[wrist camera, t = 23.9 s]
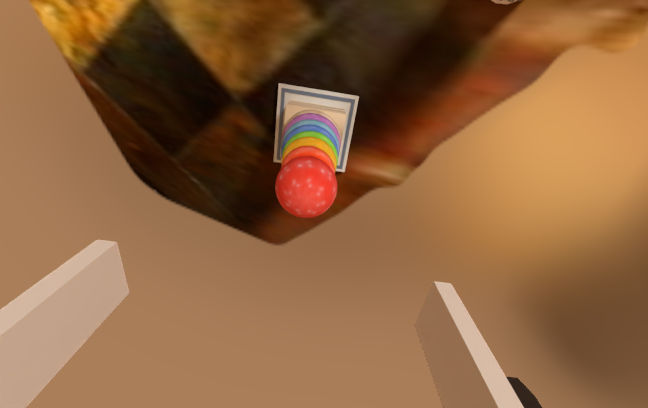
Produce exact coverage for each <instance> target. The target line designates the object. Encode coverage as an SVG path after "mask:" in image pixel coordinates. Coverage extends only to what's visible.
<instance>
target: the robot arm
mask: <svg viewBox="0 0 648 408" xmlns="http://www.w3.org/2000/svg"><path fill="white" fill-rule="evenodd" d="M128 293H129V289H128V285H127V281H126V277H125V273H124V269H123V265H122V260H121V256H120V252H119V248H118V244H117V242H113V241H105V240H96V241H94V242H93V243H91V244H90V245H89V246H87V247H86V248H85V249H83V250H82V251H80V252H79V253H78V254H76V255H75V256H74V257H72V258H71V259H69V260H68V261H67V262H65V263H64V264H62V265H61V266H60V267H58V268H57V269H56V270H54V271H53V272H51V273H50V274H49V275H47V276H46V277H45V278H43V279H42V280H40V281H39V282H38V283H37V284H35V285H33V286H32V287H31V288H29V289H28V290H27V291H25V292H24V293H22V294H21V295H20V296H18V297H17V298H16V299H14V300H13V301H11V302H10V303H9V304H7V305H6V306H4V307H3V308H2V309H0V408H26V407H27V406H28V405H29V404H30V402H31V401H32V400H33V399H34V398H35V397H36V396H37V395H38V394H39V392H40V391H41V390H42V389H43V388H44V387H45V386H46V385H47V384H48V382H49V381H50V380H51V379H52V378H53V377H54V376H55V375H56V374H57V372H58V371H59V370H60V369H61V368H62V367H63V366H64V365H65V364H66V362H67V361H68V360H69V359H70V358H71V357H72V356H73V355H74V354H75V352H76V351H77V350H78V349H79V348H80V347H81V346H82V345H83V344H84V342H85V341H86V340H87V339H88V338H89V337H90V336H91V335H92V334H93V332H94V331H95V330H96V329H97V328H98V327H99V326H100V325H101V324H102V322H103V321H104V320H105V319H106V318H107V317H108V316H109V315H110V314H111V312H112V311H113V310H114V309H115V308H116V307H117V306H118V305H119V304H120V302H121V301H122V300H123V299H124V298H125V297H126V296H127V295H128ZM415 328H416V331H417V334H418V337H419V340H420V343H421V345H422V348H423V351H424V354H425V357H426V360H427V363H428V365H429V369H430V371H431V374H432V377H433V380H434V383H435V386H436V389H437V392H438V395H439V397H440V400H441V403H442V406H443V408H542V407H541V405H540V404H539V402H538V401H537V399H536V397H535V396H534V395H533V394H532V393H531V392H530V391H529V390H528V388H526V386H525V385H524V384H523V383H522V382H521V381H520V380H519V379H518V378H513V377H506V376H505V375H504V373H503V371H502V369H501V368H500V366H499V364H498V363H497V361H496V359H495V357H494V356H493V354H492V352H491V351H490V349H489V347H488V346H487V344H486V342H485V340H484V339H483V337H482V335H481V334H480V332H479V330H478V329H477V327H476V325H475V323H474V322H473V320H472V318H471V317H470V315H469V313H468V312H467V310H466V308H465V306H464V305H463V303H462V301H461V300H460V298H459V296H458V295H457V293H456V291H455V289H454V288H453V286H452V284H451V283H442V282H435V281H434V282H433V285H432V287H431V289H430V291H429V293H428V296H427V298H426V300H425V303H424V305H423V307H422V309H421V312H420V314H419V316H418V319H417V321H416V323H415Z"/></svg>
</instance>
